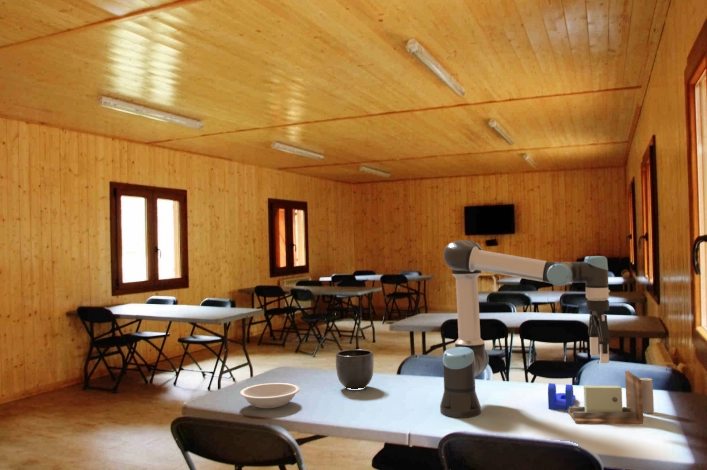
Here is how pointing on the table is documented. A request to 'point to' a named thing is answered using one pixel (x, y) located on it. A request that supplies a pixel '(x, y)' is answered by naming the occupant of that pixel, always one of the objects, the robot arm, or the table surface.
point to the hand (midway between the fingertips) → (599, 358)
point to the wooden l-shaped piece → (628, 416)
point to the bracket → (560, 398)
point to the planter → (354, 367)
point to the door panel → (603, 398)
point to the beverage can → (647, 395)
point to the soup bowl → (269, 394)
